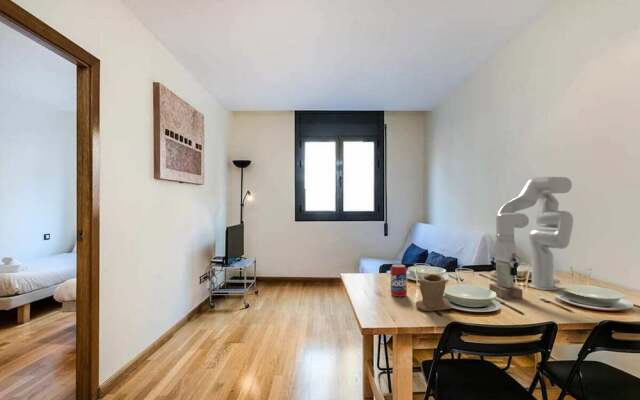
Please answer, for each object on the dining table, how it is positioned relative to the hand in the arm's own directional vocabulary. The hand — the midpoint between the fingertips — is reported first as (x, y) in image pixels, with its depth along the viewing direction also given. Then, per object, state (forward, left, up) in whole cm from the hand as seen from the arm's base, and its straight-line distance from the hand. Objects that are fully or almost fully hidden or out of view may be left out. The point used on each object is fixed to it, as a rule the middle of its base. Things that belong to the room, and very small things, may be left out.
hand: (505, 273), depth 149 cm
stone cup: (+45, +9, -12) cm, 47 cm away
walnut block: (0, 0, -12) cm, 12 cm away
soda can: (+51, -13, -12) cm, 54 cm away
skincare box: (0, -1, -7) cm, 7 cm away
